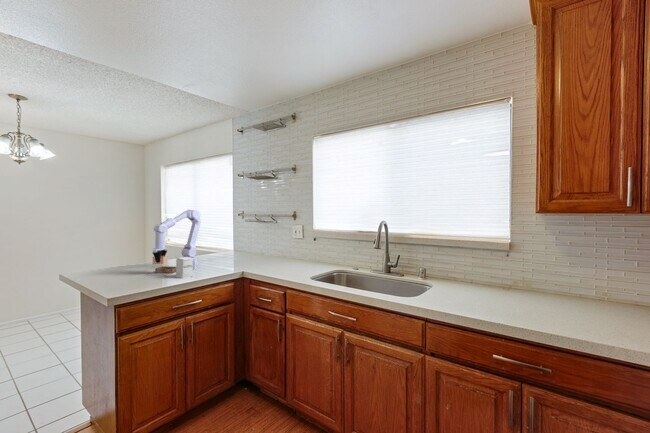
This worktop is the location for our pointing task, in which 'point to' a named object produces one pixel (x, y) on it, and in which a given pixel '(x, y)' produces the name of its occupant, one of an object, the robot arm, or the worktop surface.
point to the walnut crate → (165, 270)
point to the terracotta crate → (161, 260)
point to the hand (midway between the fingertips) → (159, 261)
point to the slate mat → (156, 274)
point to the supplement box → (184, 267)
